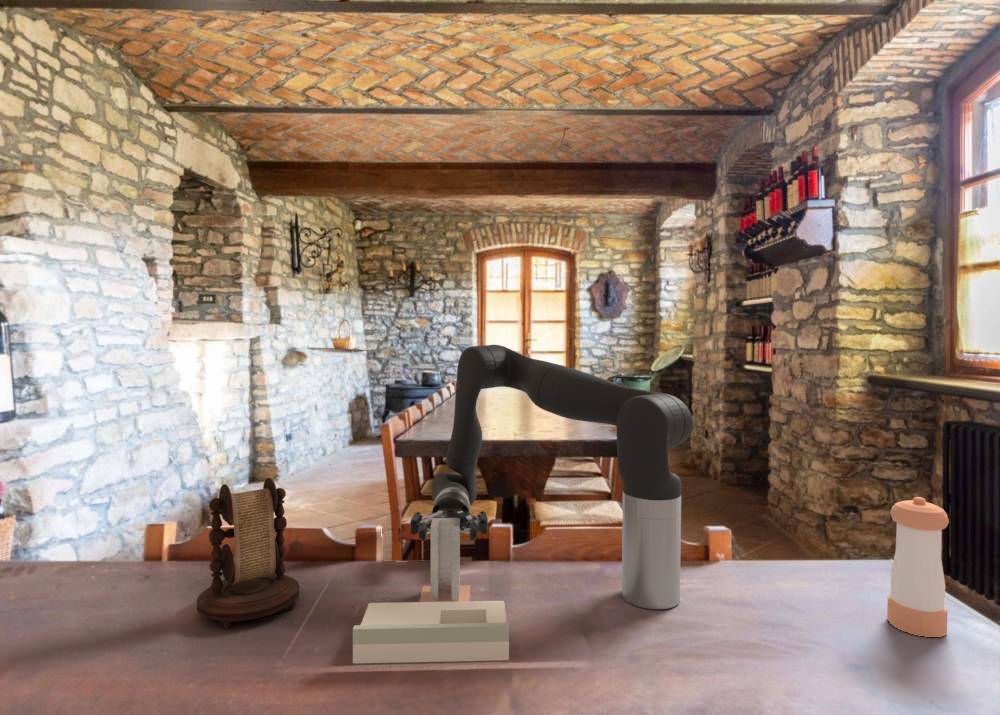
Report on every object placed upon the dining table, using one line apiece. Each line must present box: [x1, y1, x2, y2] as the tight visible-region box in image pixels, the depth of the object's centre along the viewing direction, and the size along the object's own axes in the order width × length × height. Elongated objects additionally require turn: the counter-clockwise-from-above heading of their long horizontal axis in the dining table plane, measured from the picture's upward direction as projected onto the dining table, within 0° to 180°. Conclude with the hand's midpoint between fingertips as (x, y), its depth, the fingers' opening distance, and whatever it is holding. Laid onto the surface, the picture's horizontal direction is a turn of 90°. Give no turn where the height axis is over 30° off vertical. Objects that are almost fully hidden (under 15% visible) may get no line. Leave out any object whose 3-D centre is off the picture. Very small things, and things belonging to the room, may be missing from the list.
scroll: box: [196, 477, 301, 630], centre depth 92 cm, size 15×15×20 cm
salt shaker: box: [886, 496, 950, 638], centre depth 87 cm, size 7×7×19 cm
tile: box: [419, 584, 471, 602], centre depth 96 cm, size 8×8×1 cm
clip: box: [430, 518, 461, 602], centre depth 96 cm, size 4×4×12 cm
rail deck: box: [352, 600, 510, 669], centre depth 82 cm, size 12×20×5 cm, turn 93°
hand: (448, 535), depth 105 cm, fingers open, 8 cm apart
